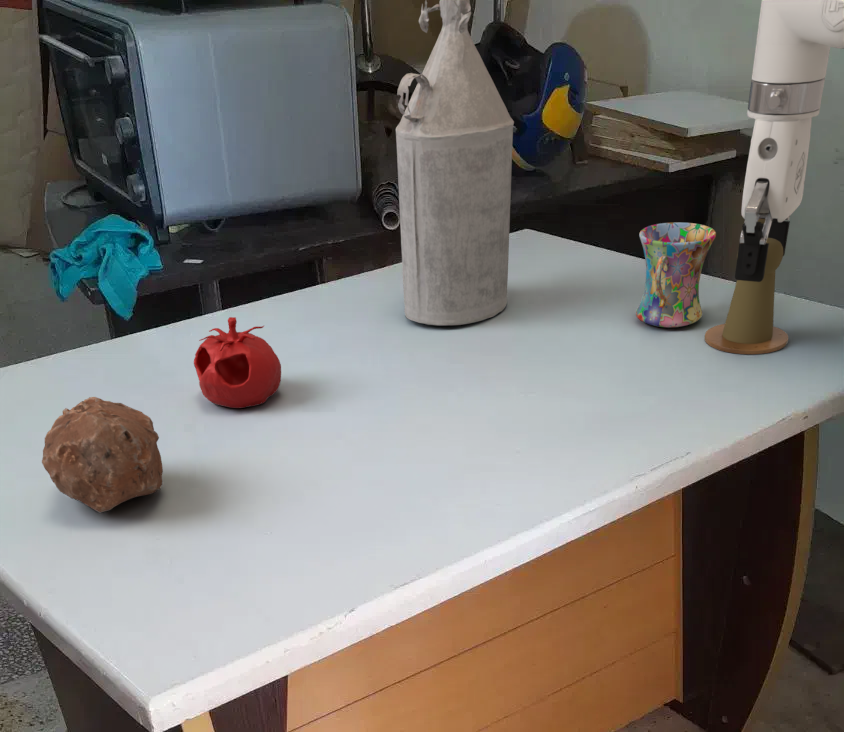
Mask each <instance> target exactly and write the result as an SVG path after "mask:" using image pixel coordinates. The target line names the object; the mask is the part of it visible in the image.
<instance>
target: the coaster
mask: <svg viewBox="0 0 844 732" xmlns="http://www.w3.org/2000/svg"><path fill="white" fill-rule="evenodd" d="M724 326H725V323H721V324H717V325H714V326H711V327H710V328H708V329H707V330H706V331H705V333H704V342H705V343H706V344H707V345H708V346H709V347H711V348H713V349H715V350H718V351H720V352H725V353H729V354H736V355H762V354H763V355H764V354H770V353H775V352H777V351H779V350H782V349H784V348H785V347H786V346H787V344H788V343H789V334H788V333H787V332H785V331H784V329H781V328H779V327H777V326H774V325H773V336H772V339H770V340H769V341H766V342H763V343H757V344H743V343H736V342H732V341H729V340H727V339H725V338H724V337H723V335H722V333H723V329H724Z"/></svg>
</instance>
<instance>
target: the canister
mask: <svg viewBox="0 0 844 732" xmlns="http://www.w3.org/2000/svg"><path fill="white" fill-rule="evenodd" d="M427 1H428V0H425V1H424V4H423V3H421V7H420V16H419V18H418V24H419V27H420V29H421V31H422V32H424V33H426V34H428V30H429V25H430V24H429V21H430V17H429V16H430V15H429V13H432V12H434V11H440V18H441V19H442V26H441V30H440V32H439V34H438V37H437V39H436V41H435V44H434V46H433V48H432V50H431V52H430V55H429V58H428V59H427V62H426V63H425V66H424V69H423V71H422V72H421V74H418V73H413V72H410V73H406V74H405V75H404V76H403V77H402V78H401V80H400V82H399V84H398V88H397V93H396V95H397V96H400V98H399V101H398V103H397V108H398V110H399V112H400V113H401V114H402V117H401V118H400V121H399V123H398V124H397V126H396V127H395V141H396V156H397V157H396V161H397V181H398V183H397V184H398V204H399V221H400V222H399V223H400V226H399V227H400V247H401V266H402V287H403V304H404V311H403V312H404V315H405V318H406V319H407V320H410V321H412V322H415V323H419V324H425V325H427V326H438V327H439V326H461V325H469V324H473V323H478V322H482V321H484V320H487V319H489V318H494V317H495V316H496V315H498V314H499V313H501V312H503V311H504V309H505V308H506V306H507V305H508V284H509V283H508V281H509V279H508V278H509V254H510V253H509V252H510V250H509V249H510V226H511V225H510V223H511V195H512V194H511V193H512V169H513V168H512V165H513V163H512V162H513V141H514V139H513V137H514V124H515V121H514V120H513V118H512V117H511V115H510V113H509V112H508V111H509V110H508V109H507V107H506V104H505V103H504V101H503V99H502V97H501V95H500V93H499V91H498V89H497V87H496V84H495V83H494V80H493V79H492V77H491V75H490V73H489V71H488V69H487V67H486V65H485V62H484V61H483V59H482V57H481V55H480V53H479V51H478V49H477V47H476V45H475V43H474V41H473V39H472V37H471V35H470V32H469V31H468V22H469V21H470V18H471V15H472V11H471V8H472V7H471V2H470V0H439V3H436V4H435V5H433V6H432V7H428V2H427ZM414 79H415V80H416V83H417V84H416V85H415V86H416V87H415V89H414V91H413V92H412V94H411V96H410V99H409V94H410V90H409V87H411V85H412V82H413V81H414ZM404 94H405V100H404ZM403 101H404V105H405V106H406V108H405V106H404V105H403Z"/></svg>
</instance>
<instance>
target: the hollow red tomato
mask: <svg viewBox="0 0 844 732" xmlns="http://www.w3.org/2000/svg"><path fill="white" fill-rule="evenodd" d="M227 324H228V325H227V326H228V332H225V331H224V330H222V329H220V328H219V327H214V328H212V329H210V330H208V332H212V331H214V332H215V331H216V332H217V333H218V334H217V335H214V334H211V335H207V336H205V337H204V338H201V339H199V340H198V342H201V341H203V342H202V343H200V344H199V346H198V348H197V350H196V352H195V354H194V358H193V366H194V368H195V371H196V375H197V378H198V385H199V388H200V391H201V393H202V395H203V397H204V398H206V400H207V401H209V402H211V403H212V404H214V405H218V406H222V407H227V408H230V409H243V408H248V407H255V406H259V405H262V404H264V403H266V401H267V400H268V398H270V397H272V396H273V395H274V394H275V393H276V392H277V391H278V390H279V388H280V385H281V382H282V364H281V361H280V359H279V357H278V355H277V354H276V352H275V351H274V349H273V348H272V346H271V345H270V344H269V343H268V342H267V341H266V340H265V339H264V338H262V337H261V336H258V335H255V334H253V333H250V332H252V331H253V330H256V329H263V328H264V327H265V325H263V326H253V327H251V328H249V329H247V330H244V331H237V317H232V316H230V317H229V318H228V319H227Z"/></svg>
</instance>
